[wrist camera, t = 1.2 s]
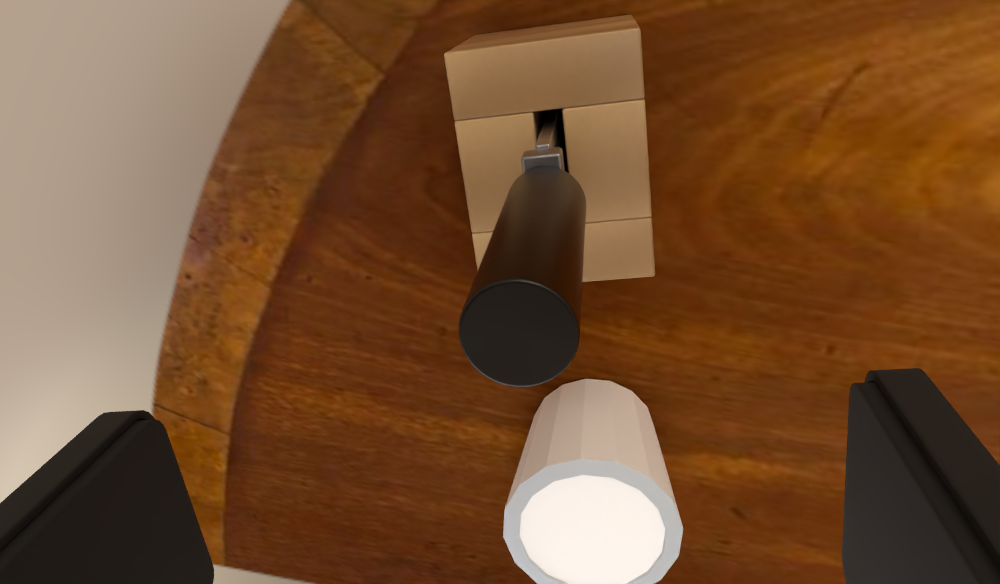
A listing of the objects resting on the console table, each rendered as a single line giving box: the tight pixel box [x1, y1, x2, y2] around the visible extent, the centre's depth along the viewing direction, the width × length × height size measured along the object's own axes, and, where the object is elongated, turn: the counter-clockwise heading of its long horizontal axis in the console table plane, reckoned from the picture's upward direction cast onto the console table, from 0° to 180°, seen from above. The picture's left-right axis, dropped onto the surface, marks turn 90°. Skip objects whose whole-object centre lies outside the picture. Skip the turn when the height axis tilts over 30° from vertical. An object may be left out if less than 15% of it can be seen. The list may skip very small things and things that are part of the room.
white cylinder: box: [503, 379, 683, 584], centre depth 32 cm, size 7×7×7 cm
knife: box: [459, 108, 586, 387], centre depth 22 cm, size 3×2×18 cm
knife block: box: [444, 15, 655, 282], centre depth 27 cm, size 8×6×6 cm
